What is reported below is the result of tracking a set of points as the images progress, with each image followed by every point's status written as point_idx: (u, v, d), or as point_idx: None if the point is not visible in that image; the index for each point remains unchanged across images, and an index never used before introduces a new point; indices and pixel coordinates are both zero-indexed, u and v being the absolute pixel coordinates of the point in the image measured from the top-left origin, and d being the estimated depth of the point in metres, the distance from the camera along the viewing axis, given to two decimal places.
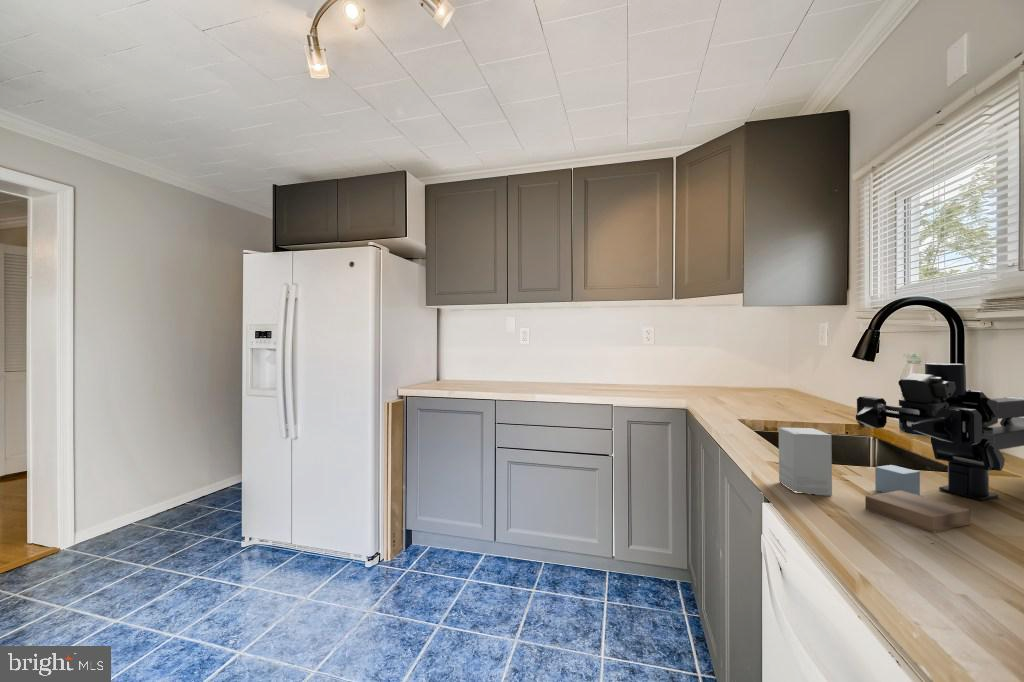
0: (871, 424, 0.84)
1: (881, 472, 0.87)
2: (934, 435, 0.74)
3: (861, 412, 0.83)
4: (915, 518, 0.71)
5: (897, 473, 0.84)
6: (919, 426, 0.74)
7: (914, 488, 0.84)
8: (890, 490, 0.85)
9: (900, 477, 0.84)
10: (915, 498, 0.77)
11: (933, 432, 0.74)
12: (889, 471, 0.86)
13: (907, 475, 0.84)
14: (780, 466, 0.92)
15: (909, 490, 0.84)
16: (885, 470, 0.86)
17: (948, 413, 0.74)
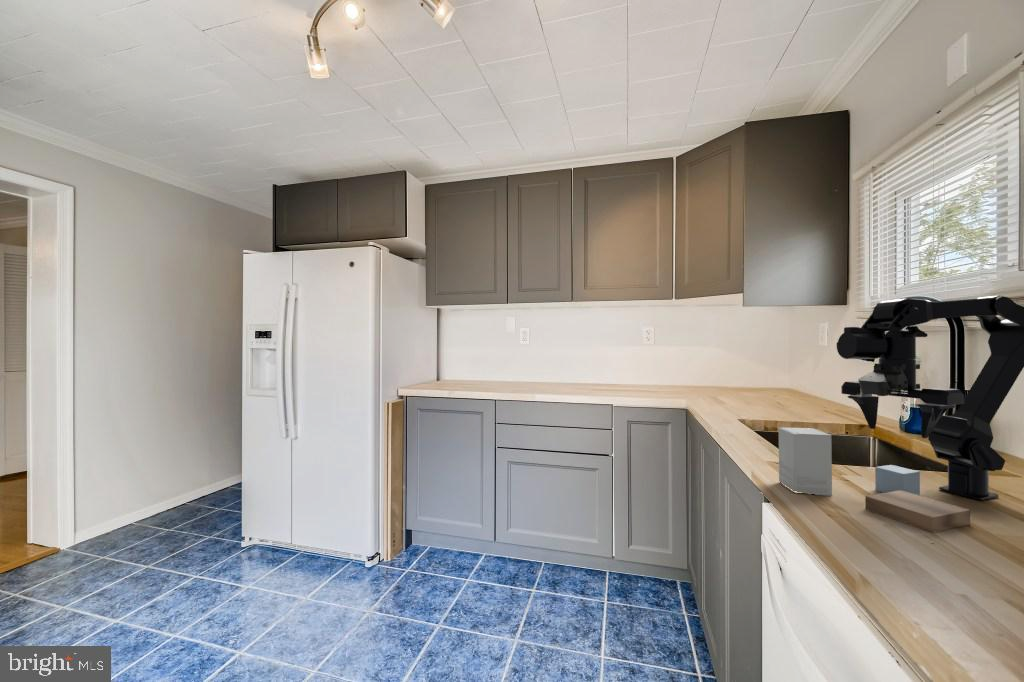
0: (876, 407, 0.92)
1: (881, 472, 0.87)
2: (937, 420, 0.81)
3: (868, 420, 0.91)
4: (915, 518, 0.71)
5: (897, 473, 0.84)
6: (927, 433, 0.82)
7: (914, 488, 0.84)
8: (890, 490, 0.85)
9: (900, 477, 0.84)
10: (915, 498, 0.77)
11: (935, 421, 0.81)
12: (889, 471, 0.86)
13: (907, 475, 0.84)
14: (780, 466, 0.92)
15: (909, 490, 0.84)
16: (885, 470, 0.86)
17: (929, 409, 0.80)
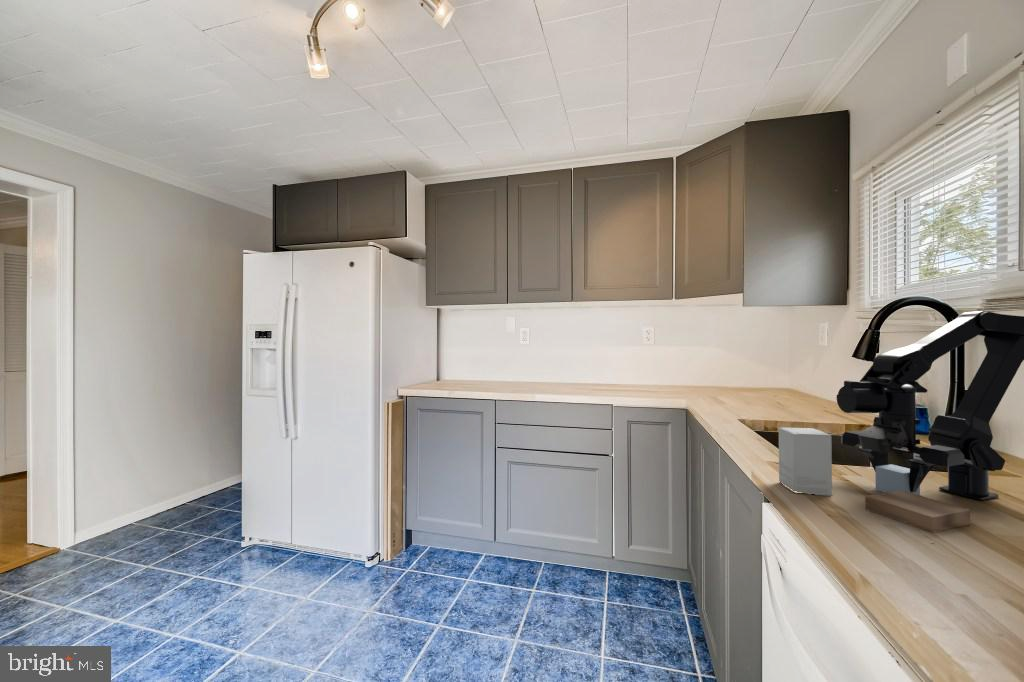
0: (887, 461, 0.90)
1: (881, 472, 0.87)
2: (925, 475, 0.83)
3: None
4: (915, 518, 0.71)
5: (897, 473, 0.84)
6: (915, 488, 0.83)
7: None
8: (890, 490, 0.85)
9: (900, 477, 0.84)
10: (915, 498, 0.77)
11: (923, 476, 0.83)
12: (889, 471, 0.86)
13: (907, 474, 0.84)
14: (780, 466, 0.92)
15: (909, 490, 0.84)
16: (885, 470, 0.86)
17: (916, 465, 0.81)
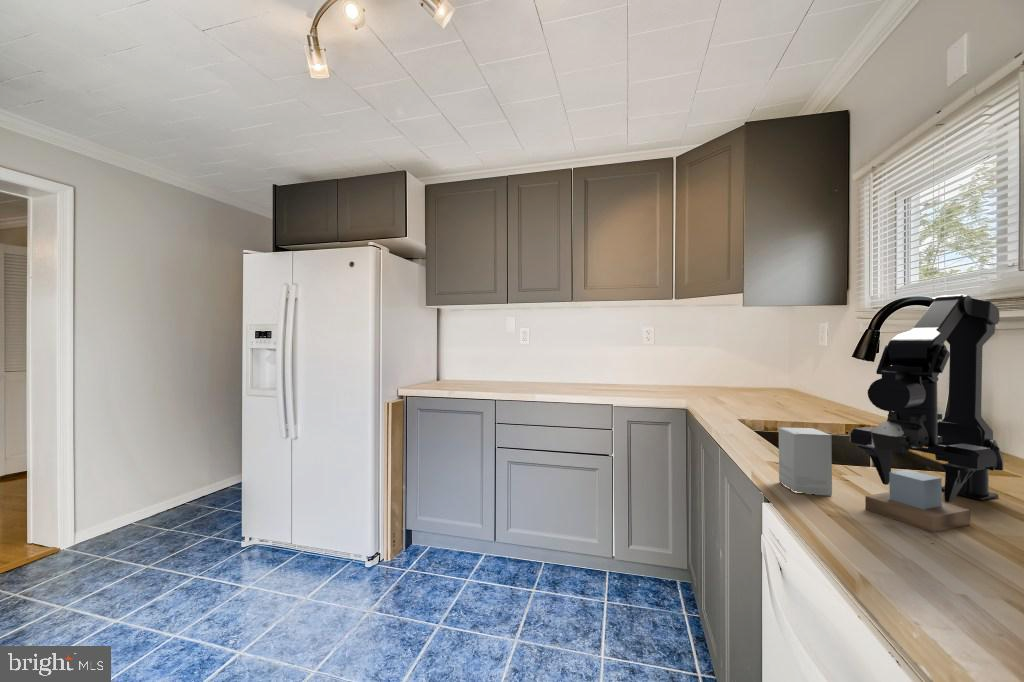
0: (890, 459, 0.80)
1: (896, 478, 0.75)
2: (964, 482, 0.70)
3: (881, 475, 0.79)
4: (915, 518, 0.71)
5: (915, 480, 0.72)
6: (951, 497, 0.70)
7: (935, 497, 0.72)
8: (907, 499, 0.74)
9: (919, 485, 0.72)
10: None
11: (961, 484, 0.69)
12: (906, 477, 0.74)
13: (927, 482, 0.72)
14: (780, 466, 0.92)
15: (929, 500, 0.72)
16: (901, 476, 0.75)
17: (954, 471, 0.68)
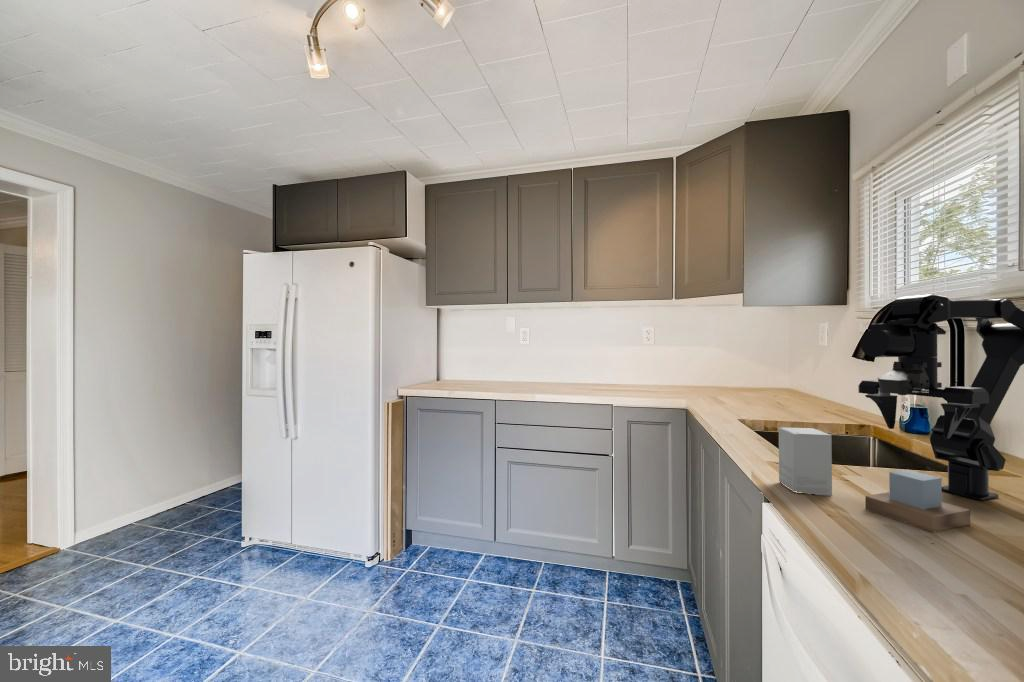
0: (895, 406, 0.89)
1: (896, 478, 0.75)
2: (960, 420, 0.79)
3: (886, 420, 0.88)
4: (915, 518, 0.71)
5: (915, 480, 0.72)
6: (949, 434, 0.79)
7: (935, 497, 0.72)
8: (907, 499, 0.74)
9: (919, 485, 0.72)
10: None
11: (958, 421, 0.79)
12: (906, 477, 0.74)
13: (927, 482, 0.72)
14: (780, 466, 0.92)
15: (929, 500, 0.72)
16: (901, 476, 0.75)
17: (952, 409, 0.77)
